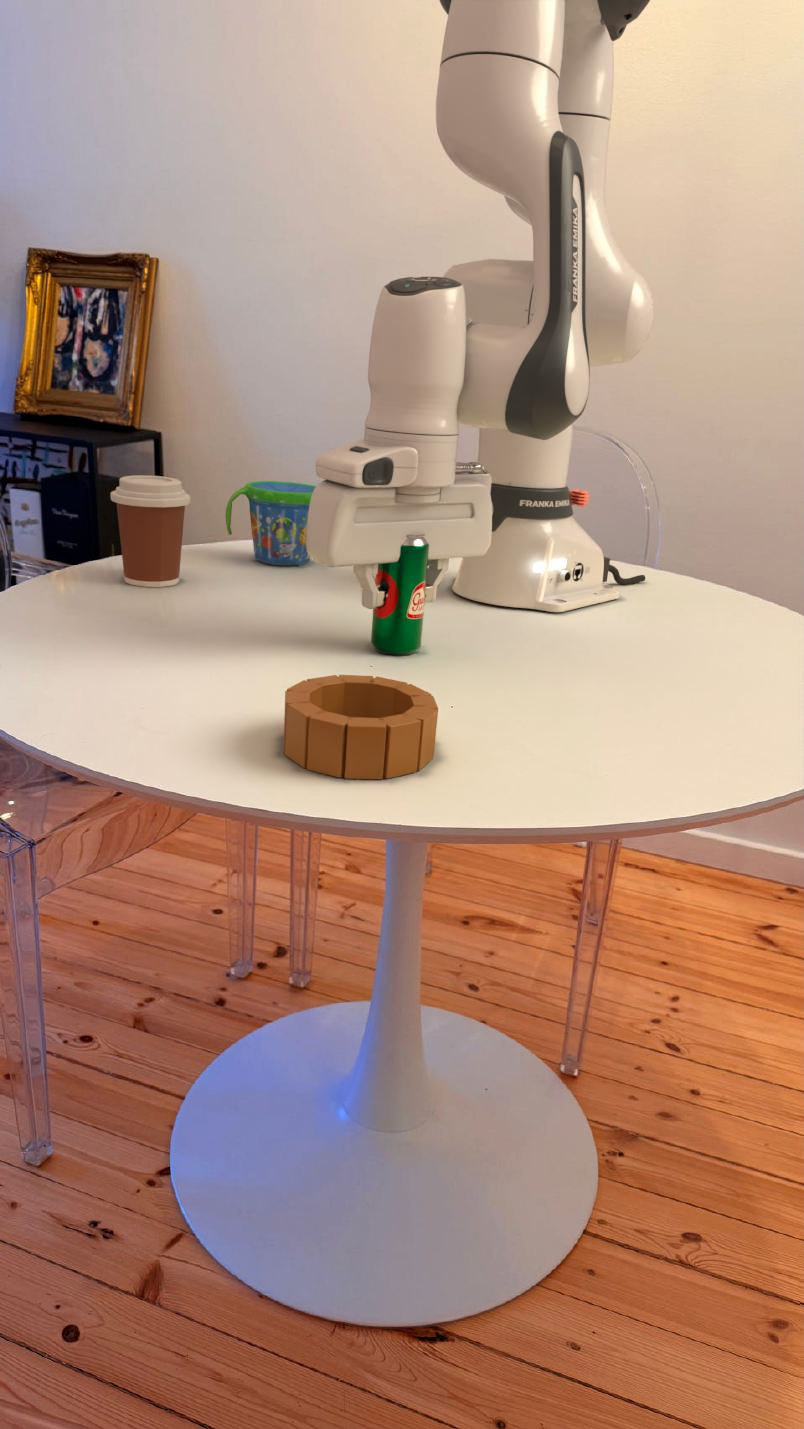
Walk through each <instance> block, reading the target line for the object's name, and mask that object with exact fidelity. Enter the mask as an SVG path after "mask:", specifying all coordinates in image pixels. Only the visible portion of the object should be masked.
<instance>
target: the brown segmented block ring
mask: <svg viewBox="0 0 804 1429" xmlns="http://www.w3.org/2000/svg"><path fill="white" fill-rule="evenodd" d="M438 716H439V706H438V704H437V702H436V699H435V697H434V695H432V693H430V692H428V691H426V690H424V689H422V688H421V687H418V686H417V685H414V684H412V683H408V682H406V681H401V680H396V679H392V678H387V677H383V676H375V677H374V676H373V675H359V674H358V675H357V674H339V675H337V674H333V675H327V676H326V675H325V676H319V677H313V678H307V679H304V680H301V681H300V682H298V683H296V684H293V685H292V686H290V687H288V688H287V689H286V690H285V691H284V716H283V754H284V756H286V757H288V758H289V759H290V760H292V761H293V762H294V763H295V764H297V765H299V766H300V767H302V768H303V769H306V770H308V771H311V772H314V773H319V774H322V775H327V776H331V777H335V778H339V779H341V778H343V777H344V779H346V780H347V779H348V780H349V779H351V780H354V779H355V780H383V778H384V779H387V780H389V779H392V778H393V779H394V778H397V777H402V776H406V775H410V774H414V773H417V772H420V771H422V769H423V768H425V767H426V766H428V764H429V763H431V762H432V761H433V759H434V757H435V749H436V748H435V747H436V736H437V725H438Z"/></svg>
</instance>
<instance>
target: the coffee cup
mask: <svg viewBox="0 0 804 1429" xmlns="http://www.w3.org/2000/svg"><path fill="white" fill-rule="evenodd" d="M118 480H119V483H118V484H119V486H116V488H115V490H112V491H111V492H110V501H111V502H113V503H116V509H117V510H116V511H117V512H116V513H117V519H118V520H117V521H118V530H119V538H120V539H119V541H120V549H121V550H120V551H121V558H122V567H123V568H122V569H123V580H124V583H127V584H129V585H131V586H136V587H146V588H163V587H171V586H175V585H177V584H178V583H179V582H180V572H181V571H180V570H181V561H182V560H181V559H182V546H183V533H184V523H185V522H184V521H185V511H186V510H185V509H186V506H188V505H190V504H191V502H192V500H191V499H192V498H191V496H190V494H189V493H187V492H186V491H185V490H184V488H183V486H182V485H183V484H182V482H181V480H180V479H178V478H174V477H169V476H168V477H167V476H160V475H143V474H142V475H139V474H138V475H125V476H122V477H120V478H119V479H118Z"/></svg>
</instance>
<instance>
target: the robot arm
mask: <svg viewBox="0 0 804 1429" xmlns="http://www.w3.org/2000/svg"><path fill="white" fill-rule="evenodd" d="M650 1H651V0H439V3H440V5H441V7H442V9H443V11H444V12H445V13H446V15H447V20H446V24H445V30H444V35H443V41H442V49H441V53H440V54H441V55H440V61H439V62H440V63H439V70H438V78H437V86H436V97H435V125H436V126H435V127H436V133H437V136H438V139H439V141H440V144H441V146H442V149H443V151H444V152H445V154H446V155H447V157H448V158H449V160H450V161H451V162H452V163H453V165H454V166H455V167H457V169H459V171H461V172H462V173H463V174H465V175H466V176H467V177H469V178H470V179H472V180H473V181H475V182H476V183H478V184H480V185H482V186H484V187H486V188H487V189H490V190H491V191H494V192H496V193H498V194H500V195H502V196H503V197H504V200H505V202H506V205H507V206H508V207H509V209H510V210H511V212H513V214H515V216H517V217H518V218H520V219H521V220H523V221H524V222H525V223H527V224H528V225H530V226H531V230H532V242H533V243H532V247H533V248H532V254H533V255H532V256H533V257H532V260H526V259H525V260H524V259H523V260H522V259H506V258H505V259H502V258H485V259H480V260H479V259H478V260H473V261H468V262H462V263H458V264H453V265H452V266H451V267H449V268H448V269H447V271H446V272H445V273H444V274H443V276H420V277H419V276H418V277H413V276H408V277H401V278H400V277H399V278H397V279H393V280H391V281H389V282H388V283H387V284H385V285H383V287H382V288H381V290H380V294H379V296H378V299H377V303H376V307H375V310H374V311H375V312H374V316H373V322H372V329H371V336H370V344H369V353H368V354H369V356H368V367H367V381H368V385H369V391H370V405H369V408H368V412H367V415H366V419H365V423H364V434H363V437H361V438H359V439H356V440H355V441H352V442H349V443H347V444H344V445H342V446H340V447H336V448H335V449H331V450H328V451H326V452H323V453H321V454H319V455H318V457H316V460H315V475H316V476H317V477H318V478H321V479H323V480H322V481H320V482H319V483H318V484H317V485H315V486H316V487H315V489H314V491H313V493H312V496H311V500H310V505H309V512H308V521H307V534H306V549H307V552H308V553H309V555H310V559H311V560H312V561H313V562H315V563H317V564H319V565H322V566H325V567H328V568H341V567H353V568H352V570H353V574H354V576H355V578H356V580H357V581H358V584H359V586H360V588H361V589H362V590H361V591H362V592H361V606H362V607H363V608H365V609H368V610H373V609H376V608H382V607H383V606H384V601H383V600H384V598H385V591H383V590H380V589H378V588H377V586H376V584H375V578H374V577H373V576H375V575H377V573H378V564H382V563H395V562H397V561H398V560H399V557H400V549H401V545H402V544H403V543H404V542H405V540H406V539H407V537H406V535H417V534H425V536H424V538H425V539H426V541H427V542H428V544H429V553H428V569H427V580H426V592H425V604H431V603H435V602H436V600H437V591H438V590H437V589H438V586H440V584H441V581H442V580H443V579H444V576H445V575H446V573H447V571H448V570H449V564H450V559H458V558H461V561H460V565H459V569H458V572H457V574H456V576H455V579H454V582H453V585H452V588H451V589H452V591H453V592H454V593H455V594H457V595H458V596H460V597H463V598H466V599H467V600H472V601H474V602H479V603H483V604H489V605H494V606H499V607H507V608H508V607H509V608H520V609H529V610H538V611H543V612H544V611H545V612H550V613H564V612H568V611H572V610H576V609H581V608H584V607H589V606H592V605H593V606H594V605H597V604H602V603H605V602H609V601H613V600H617V599H620V590H619V589H618V588H616V587H614V586H612V585H610V584H608V583H606V582H607V581H608V576H609V573H610V574H612V576H613V579H614V581H615V582H616V583H617V584H619V585H621V586H629V585H633V584H637V583H641V582H644V581H646V575H644V574H640V575H639V574H638V575H635V576H631V577H628V578H624V577H622V576H621V575H620V571H619V570H618V568H617V567H616V566H614V565H612V564H610V563H611V558H609V557H606V556H604V552H603V550H602V548H601V547H600V546H599V544H598V543H596V541H595V540H594V539H593V538H592V537H591V536H590V535H589V534H588V533H587V532H586V531H585V530H584V528H582V527H581V525H580V524H579V523H578V522H577V520H575V519H574V517H573V515H574V511H573V506H578V507H581V508H585V507H587V506H588V504H589V503H590V500H591V498H590V496H591V495H590V494H589V493H590V492H589V491H587V490H585V489H584V490H583V489H582V490H581V489H578V488H573V489H572V490H570V488H569V487H568V486H567V481H568V474H569V465H570V458H571V451H572V443H573V436H574V435H573V434H574V427H573V426H574V425H573V424H574V423H575V422H576V421H577V420H578V419H579V418H580V417H581V416H582V415H583V413H584V411H585V409H586V406H587V402H588V400H589V393H590V386H591V385H590V384H591V369H590V368H593V367H594V368H595V367H604V366H612V365H619V364H626V363H629V362H630V361H632V360H633V359H634V358H635V357H636V356H637V355H638V354H639V353H640V352H641V350H642V349H643V347H644V346H645V345H646V343H647V341H648V340H649V338H650V334H651V332H652V329H653V325H654V320H655V303H654V302H655V301H654V297H653V293H652V291H651V288H650V287H649V284H648V282H647V281H646V279H645V278H644V277H643V276H642V275H641V273H640V272H638V271H637V270H636V269H635V267H634V266H632V265H631V263H630V262H629V261H628V259H627V258H626V256H624V254H623V253H622V251H621V249H620V248H619V246H618V244H617V242H616V240H615V236H614V235H613V232H612V229H611V226H610V222H609V218H608V212H607V204H606V203H607V202H606V180H607V179H606V178H607V160H608V150H609V149H608V148H609V138H610V130H611V129H610V128H611V120H612V112H613V111H612V110H613V102H614V98H613V97H614V80H615V76H614V75H615V56H614V54H615V52H614V51H615V50H614V42H615V41H617V40H619V39H620V38H621V37H622V36H623V34H624V33H625V31H626V28H627V25H629V24H630V23H631V24H632V22H634V21H635V20H636V19H638V18H639V17H640V15H641V14H642V13H643V11H644V10H645V9H646V7H647V6H648V4H650ZM460 425H464V426H466V427H470V428H479V429H478V454H477V461H470V462H462V461H461V462H460V461H457V458H458V447H459V435H460V434H459V433H460V427H459V426H460Z"/></svg>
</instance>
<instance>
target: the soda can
mask: <svg viewBox="0 0 804 1429" xmlns="http://www.w3.org/2000/svg"><path fill="white" fill-rule="evenodd" d="M424 536H425V534H417V535H406V537H407V539H406V540H405V542H404V543H403V544H402V545H401V549H400V557H399V560H398V561H397V562H395V563H382V564H378V573H377V575H374V576H375V577H374V581H375V584H376V586H377V588H378V589H380V590H383V591H385V598H384V600H383V601H384V606H383V607H382V608H376V609H372V620H371V635H370V636H371V637H370V643H371V645H372V646H373V648H374V649H375V650H376V651H377V652H378V651H379V652H380V653H382V654H387V655H393V656H407V655H411V654H414V653H416V652H417V651H418V650H419V649H420V648H421V647H422V639H423V626H424V616H425V615H424V614H425V604H426V603H425V592H426V580H427V569H428V567H429V566H428V553H429V544H428V542H427V541H426V539H425V538H424Z"/></svg>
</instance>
